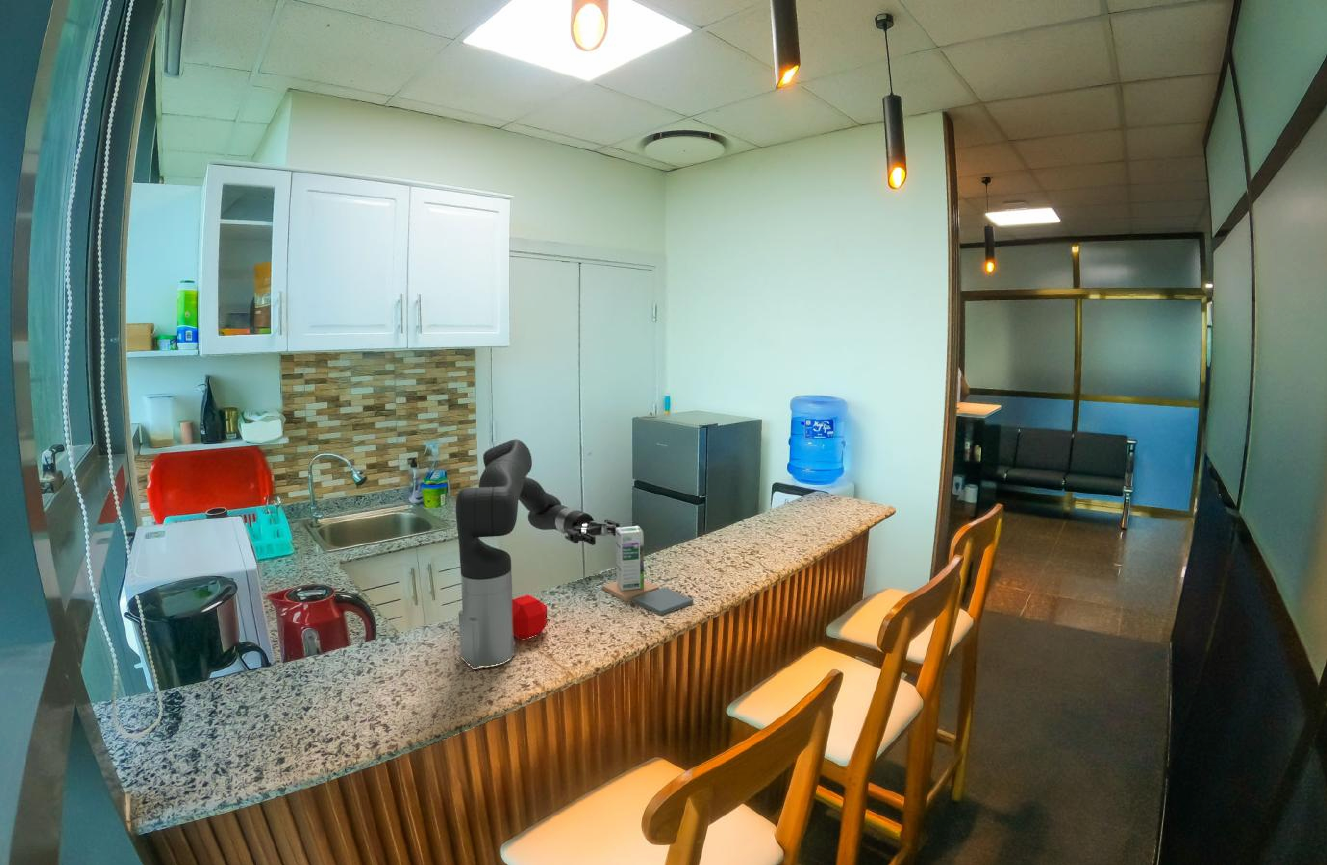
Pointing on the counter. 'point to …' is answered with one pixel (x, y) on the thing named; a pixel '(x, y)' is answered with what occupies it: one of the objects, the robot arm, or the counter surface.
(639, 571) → the syrup box
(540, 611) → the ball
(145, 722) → the counter surface
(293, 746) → the counter surface
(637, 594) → the terracotta tile
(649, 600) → the slate tile
